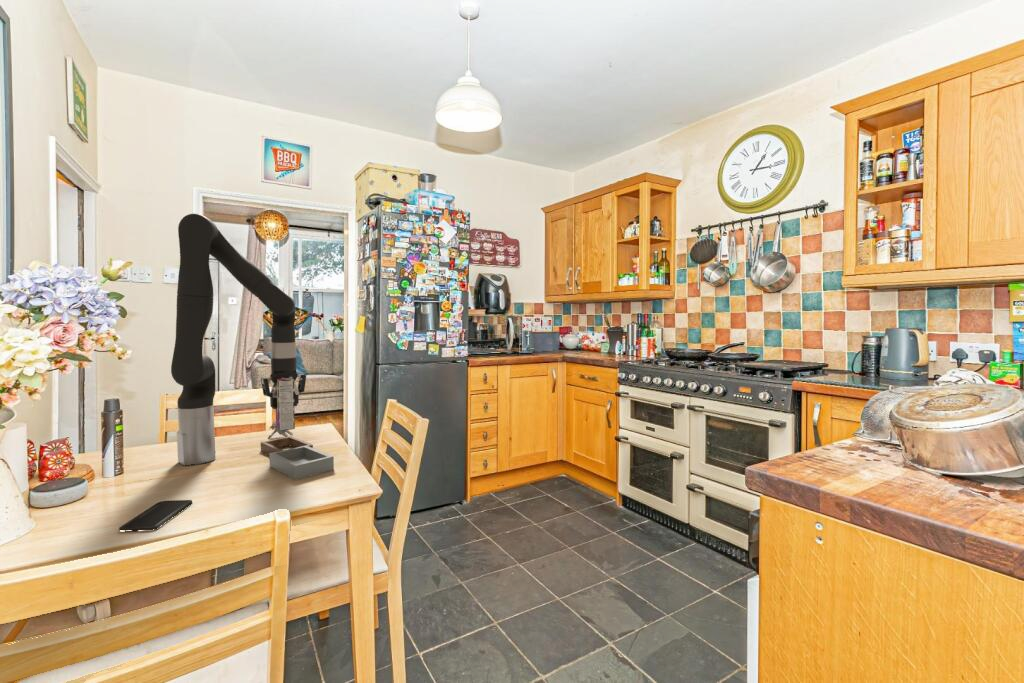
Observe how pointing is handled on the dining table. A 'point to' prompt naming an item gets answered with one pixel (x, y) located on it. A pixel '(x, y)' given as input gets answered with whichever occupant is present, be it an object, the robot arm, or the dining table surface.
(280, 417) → the candy bar box
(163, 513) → the phone
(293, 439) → the walnut collar
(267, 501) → the dining table surface
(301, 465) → the grey tray
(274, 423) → the elephant figurine
